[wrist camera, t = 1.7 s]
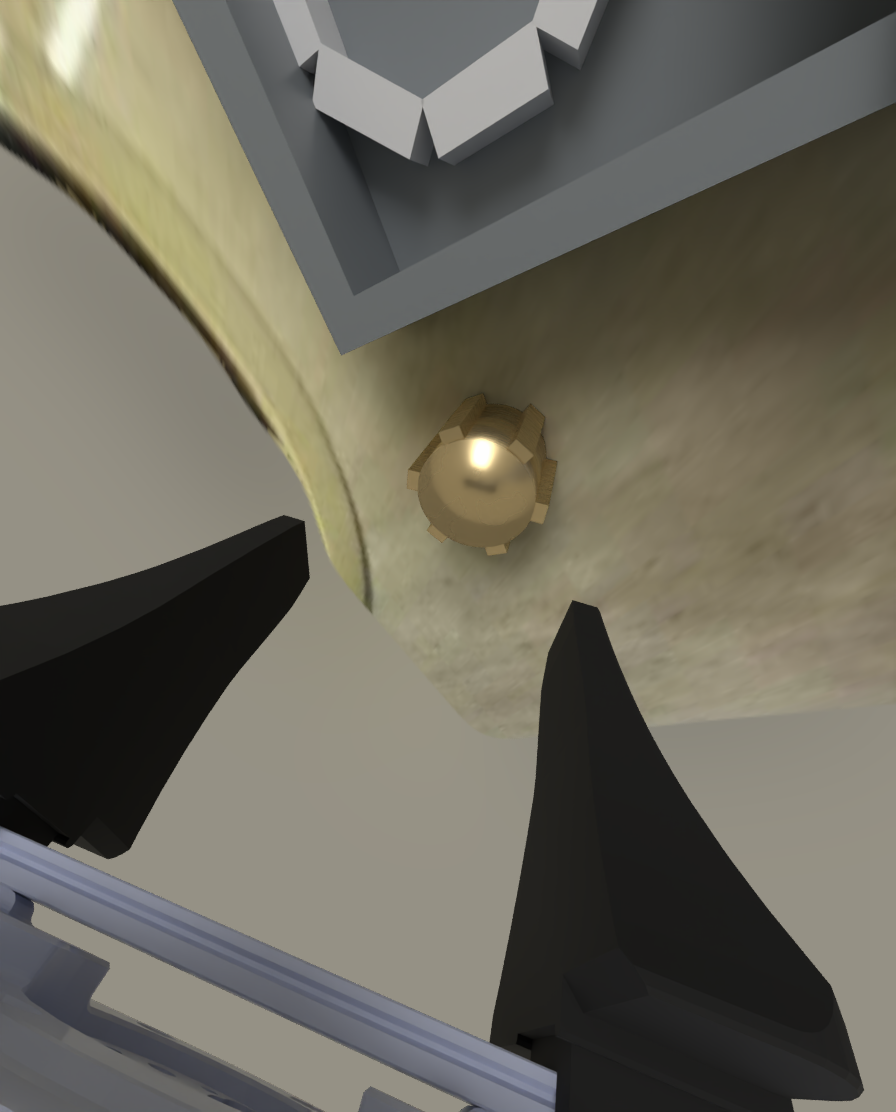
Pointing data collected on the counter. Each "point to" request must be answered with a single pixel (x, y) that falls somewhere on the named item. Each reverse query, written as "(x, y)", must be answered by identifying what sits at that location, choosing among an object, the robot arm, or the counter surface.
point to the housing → (513, 124)
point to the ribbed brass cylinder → (484, 475)
